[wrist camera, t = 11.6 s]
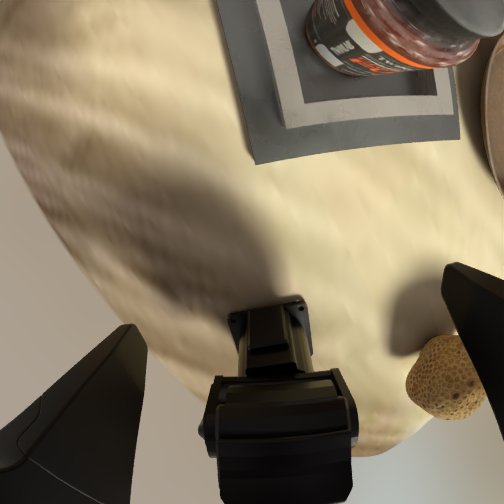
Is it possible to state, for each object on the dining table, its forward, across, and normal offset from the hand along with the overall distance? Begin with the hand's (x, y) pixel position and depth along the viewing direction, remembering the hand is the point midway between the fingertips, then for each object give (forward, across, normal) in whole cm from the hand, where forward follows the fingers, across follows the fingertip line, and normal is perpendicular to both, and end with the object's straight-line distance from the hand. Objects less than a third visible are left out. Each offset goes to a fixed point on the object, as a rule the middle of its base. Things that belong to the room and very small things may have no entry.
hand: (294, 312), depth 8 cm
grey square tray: (+13, -7, -9) cm, 17 cm away
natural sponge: (+13, -15, +20) cm, 28 cm away
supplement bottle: (+12, -7, -9) cm, 17 cm away
